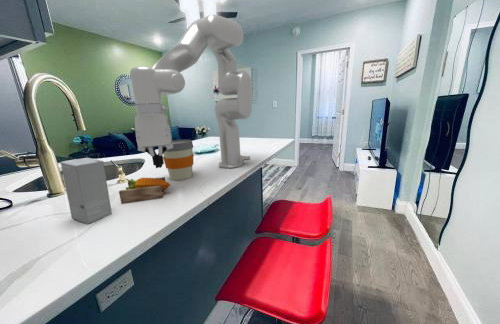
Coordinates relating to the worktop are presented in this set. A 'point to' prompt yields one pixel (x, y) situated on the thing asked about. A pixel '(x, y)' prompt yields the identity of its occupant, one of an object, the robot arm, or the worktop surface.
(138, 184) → the carrot
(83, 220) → the skincare box
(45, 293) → the worktop surface
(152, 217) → the worktop surface
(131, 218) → the worktop surface
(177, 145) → the reusable coffee cup
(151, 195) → the walnut U-rest
